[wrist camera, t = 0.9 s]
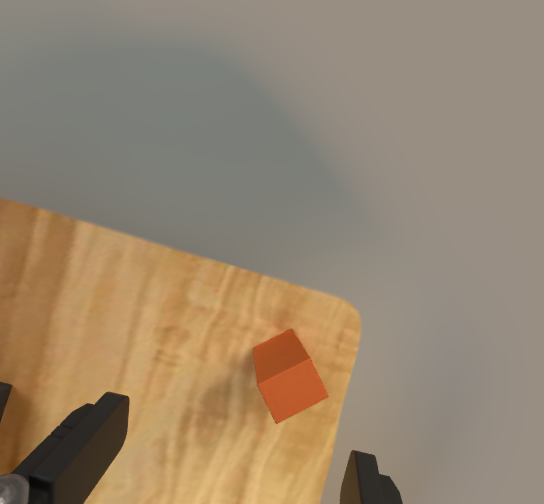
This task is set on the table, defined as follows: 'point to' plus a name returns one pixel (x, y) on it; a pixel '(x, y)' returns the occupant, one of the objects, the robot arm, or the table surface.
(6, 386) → the bin
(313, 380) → the orange block
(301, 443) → the table surface
